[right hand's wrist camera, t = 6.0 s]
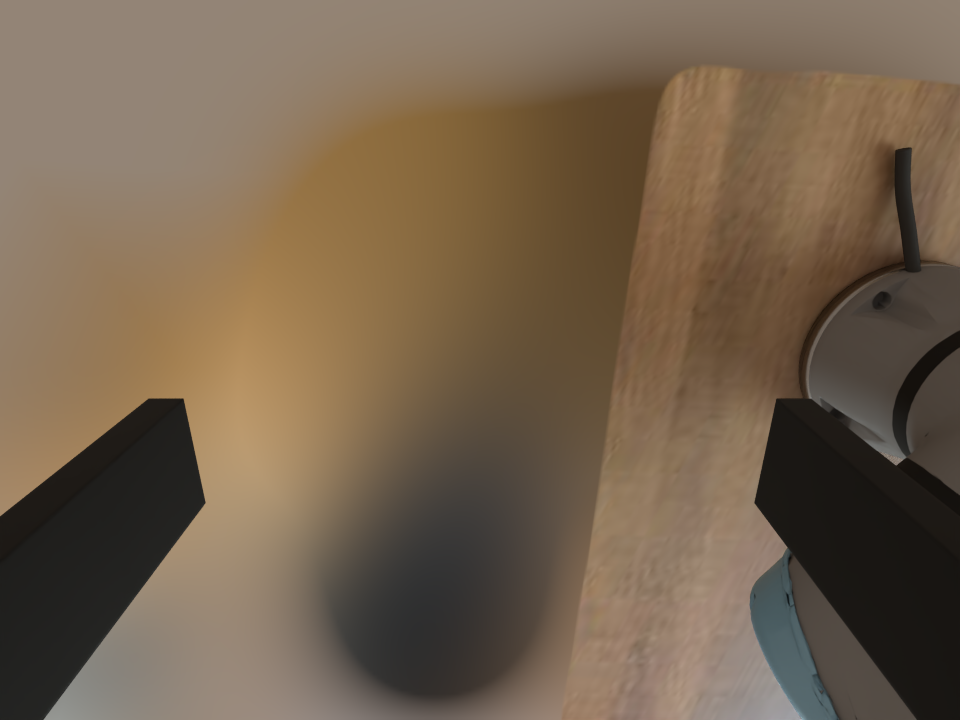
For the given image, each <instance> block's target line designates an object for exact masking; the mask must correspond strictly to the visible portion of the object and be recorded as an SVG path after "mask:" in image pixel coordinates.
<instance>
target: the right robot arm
mask: <svg viewBox="0 0 960 720" xmlns="http://www.w3.org/2000/svg"><path fill="white" fill-rule="evenodd" d="M911 152H912V148H902V149H898V150H896V151H895V197H896V205H897V212H898V218H899V224H900V230H901V238H902V246H903V254H904V263H899V264H895V265H891V266H888V267H885V268H882V269H880V270H877V271H875V272H873V273H870V274H868V275H866V276H864V277H863V278H861V279H859V280H858V281H856V282H854V283H853V284H852V285H850V286H849V287H847V288H846V289H845V290H844V291H842V292H841V293H840V294H839V295H838V296H837V297H835V298H834V299H833V300H832V301H831V302H830V303H829V305H828V306H827V307H826V308H825V309H824V310H823V312H822V313H821V314H820V316H819V317H818V318H817V320H816V321H815V323H814V324H813V326H812V328H811V330H810V332H809V334H808V336H807V338H806V340H805V343H804V346H803V349H802V353H801V357H800V363H799V382H800V388H801V392H802V395H803V398H804V399H776V404H775V408H774V413H773V418H772V422H771V427H770V432H769V437H768V441H767V446H766V451H765V456H764V460H763V465H762V470H761V474H760V479H759V484H758V489H757V493H756V498H755V504H756V506H757V507H758V508H759V510H760V511H761V512H762V514H763V515H764V516H765V518H766V519H767V520H768V522H769V523H770V524H771V526H772V527H773V528H774V530H775V531H776V532H777V534H778V535H779V536H780V538H781V539H782V540H783V542H784V543H785V544H786V546H787V547H788V548H787V550H786V551H785V553H784V555H783V557H782V558H781V559H780V560H779V561H778V562H777V563H776V564H774V565H773V566H772V567H771V568H770V569H769V570H768V571H767V572H765V573H764V574H763V575H762V576H761V577H760V578H759V579H758V580H757V581H756V583H755V584H754V586H753V588H752V591H751V594H750V610H751V621H752V624H753V628H754V631H755V634H756V637H757V640H758V642H759V645H760V647H761V649H762V652H763V654H764V656H765V658H766V660H767V662H768V664H769V666H770V668H771V670H772V672H773V674H774V676H775V677H776V679H777V681H778V683H779V684H780V686H781V688H782V689H783V691H784V693H785V694H786V696H787V698H788V699H789V701H790V702H791V704H792V705H793V707H794V708H795V710H796V711H797V713H798V714H799V716H800V717H801V718H802V720H960V267H956V266H953V265H949V264H945V263H940V262H935V261H920V255H919V246H918V237H917V229H916V222H915V216H914V210H913V204H912V196H911V182H910V173H911ZM878 451H879V452H882V453H885V454H889V455H892V456H895V457H898V458H902V459H904V460H903V461H902V462H900V463H899V464H898V465H897V466H896V465H894V464H893V463H892V462H891V461H889V460H888V459H887V458H886V457H884V456H883V455H882V454H880V453H879V452H878ZM204 504H205V498H204V493H203V489H202V484H201V479H200V474H199V470H198V465H197V460H196V456H195V451H194V446H193V441H192V437H191V432H190V427H189V422H188V418H187V413H186V409H185V404H184V399H148V400H146V401H145V402H144V403H143V404H141V405H140V406H139V407H138V408H136V409H135V410H134V411H133V412H131V413H130V414H129V415H127V416H126V417H125V418H124V419H122V420H121V421H120V422H119V423H117V424H116V425H115V426H114V427H112V428H111V429H110V430H109V431H107V432H106V433H105V434H104V435H102V436H101V437H100V438H98V439H97V440H96V441H95V442H93V443H92V444H91V445H90V446H88V447H87V448H86V449H85V450H83V451H82V452H81V453H80V454H78V455H77V456H76V457H74V458H73V459H72V460H71V461H70V462H68V463H67V464H66V465H64V466H63V467H62V468H61V469H59V470H58V471H57V472H56V473H54V474H53V475H52V476H51V477H49V478H48V479H47V480H45V481H44V482H43V483H42V484H40V485H39V486H38V487H37V488H35V489H34V490H33V491H32V492H30V493H29V494H28V495H27V496H25V497H24V498H23V499H22V500H20V501H19V502H18V503H17V504H15V505H14V506H13V507H11V508H10V509H9V510H8V511H6V512H5V513H4V514H3V515H1V516H0V720H44V718H45V717H46V715H47V714H48V713H49V712H50V710H51V709H52V707H53V706H54V705H55V703H56V702H57V701H58V699H59V698H60V697H61V695H62V694H63V693H64V691H65V690H66V689H67V687H68V686H69V685H70V683H71V682H72V681H73V679H74V678H75V677H76V675H77V674H78V673H79V671H80V670H81V669H82V667H83V666H84V665H85V663H86V662H87V661H88V659H89V658H90V657H91V655H92V654H93V653H94V651H95V650H96V649H97V647H98V646H99V645H100V643H101V642H102V641H103V639H104V638H105V637H106V635H107V634H108V633H109V631H110V630H111V629H112V627H113V626H114V625H115V623H116V622H117V621H118V619H119V618H120V617H121V615H122V614H123V613H124V611H125V610H126V609H127V607H128V606H129V605H130V603H131V602H132V600H133V599H134V598H135V597H136V595H137V594H138V592H139V591H140V590H141V588H142V587H143V586H144V585H145V583H146V582H147V581H148V579H149V578H150V577H151V575H152V574H153V572H154V571H155V570H156V569H157V567H158V566H159V564H160V563H161V562H162V560H163V559H164V558H165V556H166V555H167V554H168V552H169V551H170V550H171V548H172V547H173V546H174V544H175V543H176V542H177V540H178V539H179V538H180V536H181V535H182V534H183V532H184V531H185V530H186V528H187V527H188V526H189V524H190V523H191V522H192V520H193V519H194V518H195V516H196V515H197V514H198V512H199V511H200V510H201V508H202V507H203V506H204Z"/></svg>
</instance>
